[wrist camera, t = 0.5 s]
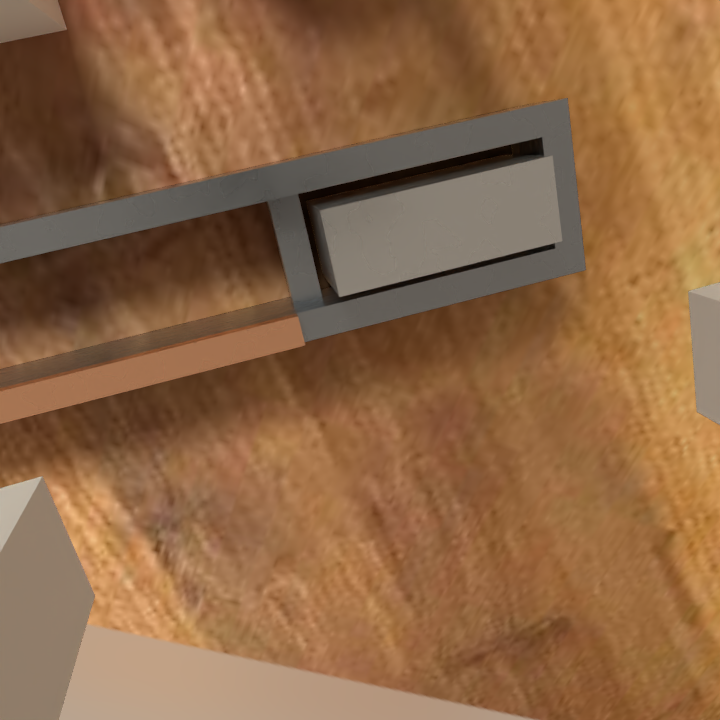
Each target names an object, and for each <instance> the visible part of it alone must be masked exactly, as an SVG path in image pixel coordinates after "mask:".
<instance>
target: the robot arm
mask: <svg viewBox="0 0 720 720" xmlns="http://www.w3.org/2000/svg"><path fill="white" fill-rule="evenodd" d="M688 294H689V308H690V322H691V336H692V351H693V365H694V379H695V393H696V407H697V412H698V413H700V414H702V415H703V416H705V417H707V418H709V419H710V420H712V421H714V422H716V423H717V424H719V425H720V282H719V283H715V284H712V285H708V286H705V287H701V288H698V289H694V290H691V291H688ZM94 597H95V594H94V592H93V590H92V588H91V585H90V583H89V581H88V579H87V576H86V574H85V572H84V569H83V567H82V565H81V563H80V560H79V558H78V556H77V554H76V551H75V549H74V547H73V544H72V542H71V540H70V538H69V535H68V533H67V531H66V528H65V526H64V524H63V522H62V519H61V517H60V515H59V513H58V510H57V508H56V506H55V503H54V501H53V499H52V497H51V494H50V492H49V490H48V488H47V485H46V483H45V481H44V478H43V476H41V477H38V478H34V479H31V480H27V481H24V482H20V483H17V484H13V485H10V486H6V487H3V488H1V489H0V720H59V717H60V713H61V710H62V706H63V703H64V700H65V696H66V693H67V689H68V686H69V682H70V679H71V676H72V672H73V669H74V666H75V662H76V659H77V655H78V652H79V648H80V645H81V642H82V638H83V635H84V631H85V628H86V625H87V621H88V618H89V614H90V611H91V608H92V604H93V601H94Z"/></svg>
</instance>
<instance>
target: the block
mask: <svg viewBox="0 0 720 720" xmlns="http://www.w3.org/2000/svg"><path fill="white" fill-rule="evenodd" d="M64 30H67V28H66V25H65V22H64V19H63V16H62V12H61V9H60V6H59V3H58V0H0V43H4V42H9V41H14V40H19V39H24V38H29V37H34V36H39V35H44V34H49V33H54V32H59V31H64Z"/></svg>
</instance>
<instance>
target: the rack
mask: <svg viewBox="0 0 720 720" xmlns="http://www.w3.org/2000/svg"><path fill="white" fill-rule="evenodd" d="M510 144H511V147H512V154H513V155H500V156H496V157H492V158H488V159H483V160H479V161H475V162H471V163H466V164H462V165H458V166H453V167H449V168H445V169H441V170H436V171H432V172H428V173H424V174H419V175H415V176H411V177H407V178H402V179H398V180H394V181H389V182H385V183H381V184H377V185H372V186H368V187H364V188H360V189H355V190H351V191H347V192H343V193H338V194H334V195H330V196H325V197H321V198H317V199H313V200H308V201H306V205H307V209H308V213H309V217H310V222H311V226H312V230H313V235H314V239H315V243H316V248H317V252H318V256H319V260H320V265H321V269H322V273H323V276H324V277H325V278H326V280H327V281H328V282H329V284H330V285H331V286H332V287H329V288H325V289H321V290H320V285H319V281H318V277H317V273H316V268H315V264H314V260H313V256H312V251H311V247H310V243H309V239H308V234H307V230H306V226H305V222H304V217H303V213H302V209H301V205H300V200H299V196H298V194H300V193H304V192H309V191H313V190H317V189H322V188H326V187H330V186H334V185H339V184H343V183H347V182H352V181H356V180H360V179H365V178H369V177H373V176H377V175H382V174H386V173H390V172H395V171H399V170H403V169H407V168H412V167H416V166H420V165H425V164H429V163H433V162H437V161H442V160H446V159H450V158H455V157H459V156H463V155H468V154H472V153H476V152H480V151H485V150H489V149H493V148H498V147H502V146H506V145H510ZM262 202H267V206H268V210H269V214H270V218H271V222H272V226H273V230H274V234H275V238H276V242H277V246H278V250H279V254H280V258H281V262H282V266H283V270H284V274H285V278H286V282H287V286H288V290H289V294H290V297H288V298H284V299H280V300H276V301H272V302H268V303H264V304H260V305H256V306H252V307H248V308H244V309H240V310H236V311H232V312H228V313H224V314H220V315H216V316H212V317H208V318H204V319H200V320H196V321H192V322H188V323H184V324H180V325H176V326H172V327H168V328H164V329H160V330H156V331H152V332H148V333H144V334H140V335H136V336H132V337H128V338H124V339H120V340H116V341H112V342H108V343H104V344H100V345H96V346H92V347H88V348H84V349H80V350H76V351H72V352H67V353H63V354H59V355H55V356H51V357H47V358H43V359H39V360H35V361H31V362H27V363H23V364H19V365H15V366H11V367H7V368H3V369H0V424H2V423H6V422H10V421H14V420H17V419H21V418H25V417H29V416H33V415H37V414H41V413H45V412H49V411H52V410H56V409H60V408H64V407H68V406H72V405H76V404H80V403H84V402H87V401H91V400H95V399H99V398H103V397H107V396H111V395H115V394H119V393H122V392H126V391H130V390H134V389H138V388H142V387H146V386H150V385H154V384H157V383H161V382H165V381H169V380H173V379H177V378H181V377H185V376H189V375H192V374H196V373H200V372H204V371H208V370H212V369H216V368H220V367H224V366H228V365H231V364H235V363H239V362H243V361H247V360H251V359H255V358H259V357H263V356H266V355H270V354H274V353H278V352H282V351H286V350H290V349H294V348H298V347H301V346H305V342H307V341H311V340H315V339H319V338H323V337H327V336H330V335H334V334H338V333H342V332H346V331H350V330H354V329H358V328H362V327H366V326H369V325H373V324H377V323H381V322H385V321H389V320H393V319H397V318H401V317H405V316H408V315H412V314H416V313H420V312H424V311H428V310H432V309H436V308H440V307H443V306H447V305H451V304H455V303H459V302H463V301H467V300H471V299H475V298H479V297H482V296H486V295H490V294H494V293H498V292H502V291H506V290H510V289H514V288H518V287H521V286H525V285H529V284H533V283H537V282H541V281H545V280H549V279H553V278H557V277H560V276H564V275H568V274H572V273H576V272H580V271H584V270H586V267H585V257H584V248H583V239H582V229H581V220H580V210H579V201H578V191H577V182H576V172H575V163H574V153H573V144H572V135H571V125H570V116H569V106H568V98H564V99H558V100H551V101H545V102H538V103H532V104H528V105H524V106H519V107H515V108H510V109H506V110H502V111H497V112H493V113H488V114H484V115H480V116H475V117H471V118H466V119H462V120H457V121H453V122H449V123H444V124H440V125H435V126H431V127H427V128H422V129H418V130H413V131H409V132H405V133H400V134H396V135H391V136H387V137H383V138H378V139H374V140H369V141H365V142H361V143H356V144H352V145H347V146H343V147H339V148H334V149H330V150H325V151H321V152H317V153H312V154H308V155H303V156H299V157H295V158H290V159H286V160H281V161H277V162H273V163H268V164H264V165H259V166H255V167H251V168H246V169H242V170H237V171H233V172H229V173H224V174H220V175H215V176H211V177H207V178H202V179H198V180H193V181H189V182H185V183H180V184H176V185H171V186H167V187H163V188H158V189H154V190H149V191H145V192H141V193H136V194H132V195H127V196H123V197H119V198H114V199H110V200H105V201H101V202H96V203H92V204H88V205H83V206H79V207H74V208H70V209H66V210H61V211H57V212H52V213H48V214H44V215H39V216H35V217H30V218H26V219H22V220H17V221H13V222H8V223H4V224H0V263H4V262H8V261H13V260H17V259H21V258H25V257H30V256H34V255H38V254H43V253H47V252H51V251H56V250H60V249H64V248H68V247H73V246H77V245H81V244H86V243H90V242H94V241H98V240H103V239H107V238H111V237H116V236H120V235H124V234H128V233H133V232H137V231H141V230H146V229H150V228H154V227H159V226H163V225H167V224H171V223H176V222H180V221H184V220H189V219H193V218H197V217H201V216H206V215H210V214H214V213H219V212H223V211H227V210H231V209H236V208H240V207H244V206H249V205H253V204H257V203H262Z"/></svg>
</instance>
